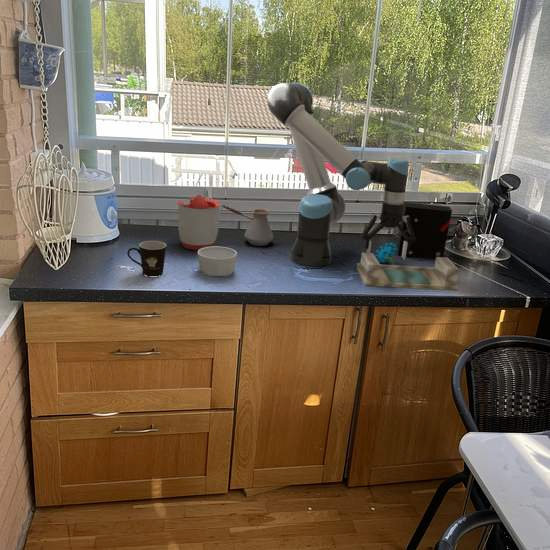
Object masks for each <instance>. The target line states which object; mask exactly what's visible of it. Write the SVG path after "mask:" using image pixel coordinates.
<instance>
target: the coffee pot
mask: <svg viewBox="0 0 550 550" xmlns="http://www.w3.org/2000/svg"><path fill="white" fill-rule="evenodd" d="M220 206H221V207H220V208H219V211H222V208H224V209H226V210H228V211H230V212H232V213H234V214H237V215H240V216H243V217H245V218H247V219H249V220H251V221H250V222H249V225H248V227H247V229H246V231H245V232H244V234H243V235H244V239H245V240H246V242H248V243H249V244H250V245H252V246H256V247H262V246H267V245H269V244H270V243H271V242H272V241H273V239H274V235H273V232H272V229H271V226H270V223H269V221H268V218H267V217H268V214H269V213H270V212H269V211H268V210H266V209H261V208H257V209H253V210H252V211H251V212H252V214H253V217H252V216H249V215H248V214H245V213H243V212H241V211H239V210H237V209H235V208H232V207H230V206H227V205H223V204H222V205H220Z"/></svg>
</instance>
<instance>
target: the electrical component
mask: <svg viewBox="0 0 550 550" xmlns="http://www.w3.org/2000/svg"><path fill="white" fill-rule="evenodd" d="M406 215H408V216H409V217H410V224H411V226H412V229H413V232H414V235H415V238H416V241H412V242H411V243H410V248H409V251H406V258H422V259H433V260H436V257H444V253H445V249H446V243H447V238H448V233H449V228H450V224H451V223H452V221H451V218H452V215H453V209H452V208H451V207H450V206H448V205H446V206H445V205H437V204H427V203H416V202H415V203H414V202H406V201H404V202H403V212H402V216H406ZM399 224H400V225H401V227H402V228H403V230H404V231H405V233H406V234H407V236H408V237H409V238H410V234H409V231H408V228H407V225H406V222H404V220H402V221H401V222H400V223H399ZM404 241H406V239H405V238H404V236H403V235H402V233H401V232H400V230H399V229H398V236H397V242H396V245H397V247H396V248H397V251H396V255H397V257H402V250H403V243H404Z"/></svg>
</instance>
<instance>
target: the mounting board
mask: <svg viewBox="0 0 550 550" xmlns="http://www.w3.org/2000/svg"><path fill="white" fill-rule="evenodd" d="M374 255H375V254H374V253H372V252H370V253H366V252H361V256H360V262H359V263H358V262H357V263H356V268H355V269H356V271H357V273H358V275H359V277H360V279H361V281H362V282H363V285H364V286H365V285H369V286H368V287H384V286H392V287H391V288H403V287H407V288H406V289H421V290H422V289H424V290H427V289H428V290H443V291H444V290H445V291H446V290H447V291H458V289H459V286H458V285H457V282H458V277H459V272H460V271H459V270H460V269H459V268H458V267H457V265H455V264H454V262H453V261H452V260H451V259H449V258H448V257H444V256H443V257H436V259H435V261H434V262H435V263H434V267H433V266H418V265H417V266H416V265H415V266H414V265H413V266H411V265H400V264H399V265H398V264H397V265H396V264H395V265H392V264H383V263H380V264H379V262H378V261H377V259H376V257H375V256H374Z"/></svg>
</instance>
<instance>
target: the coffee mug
mask: <svg viewBox="0 0 550 550" xmlns="http://www.w3.org/2000/svg"><path fill="white" fill-rule="evenodd" d="M132 250H133V251H136V252H137V253H138V254H139V256H140V262H139V261H137V260H136V259H134V258H132V256H130V251H132ZM166 251H167V243H165V242H163V241H159V240H146V241H142V242H141V243H139V244H138V248H136V247H130V248H129V249H128V250H127V256H128V258H129V259H130V260H131V261H132V262H134V263H135V264H136V265H139V266H140V267H141V270H142V275H143V274H145V275H147V276H159V275H162V274H164V267H165V260H166ZM162 276H163V275H162Z"/></svg>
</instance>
